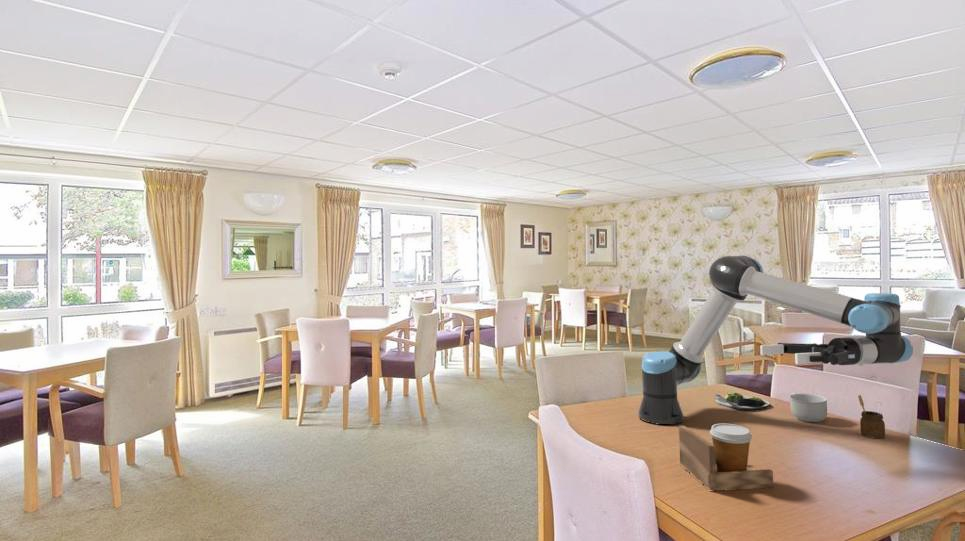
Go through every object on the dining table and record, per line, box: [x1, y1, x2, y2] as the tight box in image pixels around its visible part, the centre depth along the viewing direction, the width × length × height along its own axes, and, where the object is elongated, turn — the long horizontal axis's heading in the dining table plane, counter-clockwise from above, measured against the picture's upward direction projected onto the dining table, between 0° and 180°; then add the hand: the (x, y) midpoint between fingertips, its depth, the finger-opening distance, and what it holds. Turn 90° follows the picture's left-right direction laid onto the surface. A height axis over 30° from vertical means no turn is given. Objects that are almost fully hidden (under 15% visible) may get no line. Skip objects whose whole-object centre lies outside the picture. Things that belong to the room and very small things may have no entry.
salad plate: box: [714, 392, 771, 412], centre depth 182 cm, size 19×18×5 cm
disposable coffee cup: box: [709, 422, 753, 473], centre depth 118 cm, size 10×10×12 cm
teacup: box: [789, 392, 828, 423], centre depth 163 cm, size 14×11×8 cm
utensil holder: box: [857, 394, 886, 439], centre depth 145 cm, size 6×6×12 cm
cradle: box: [678, 425, 774, 491], centre depth 120 cm, size 16×15×11 cm
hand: (777, 354), depth 127 cm, fingers open, 13 cm apart
